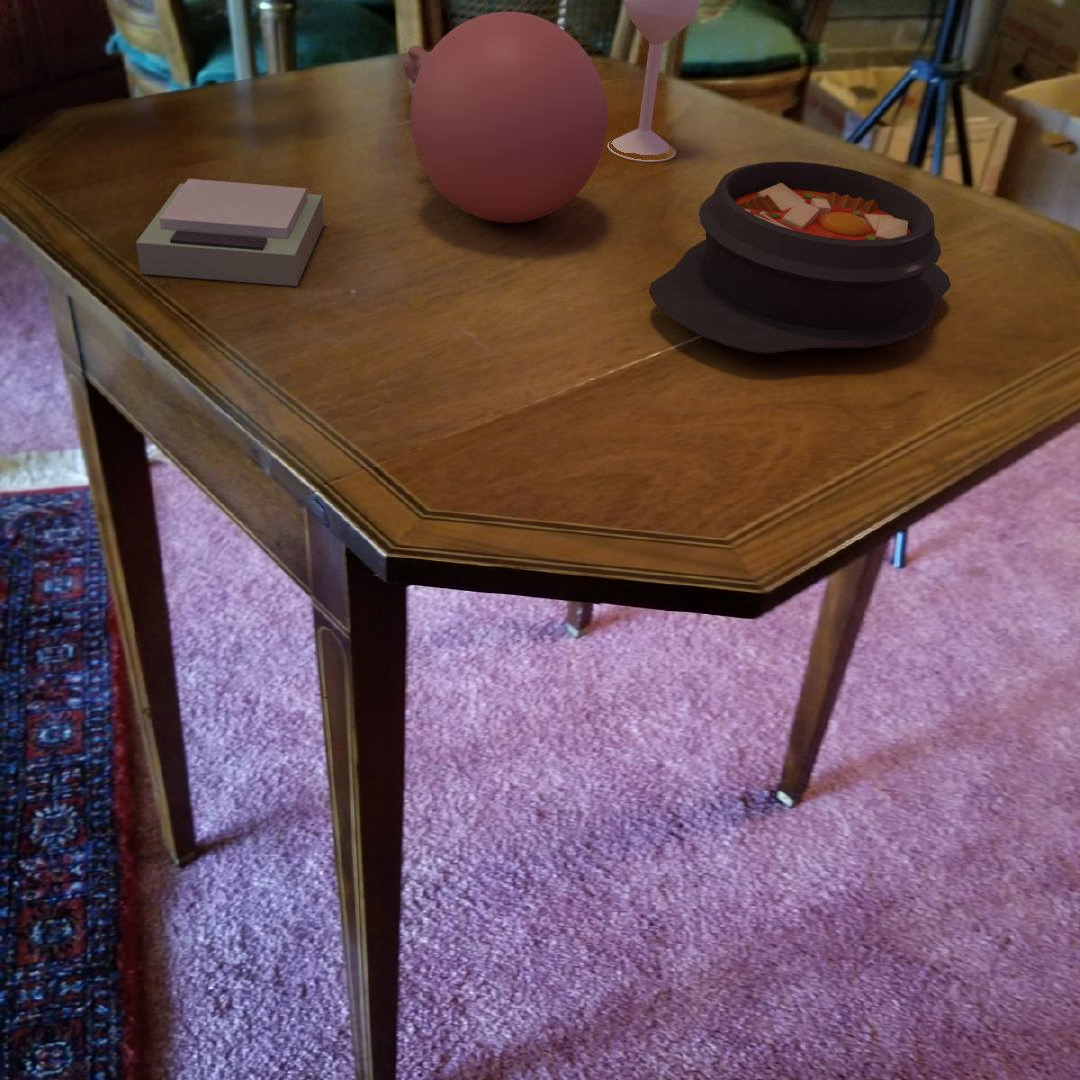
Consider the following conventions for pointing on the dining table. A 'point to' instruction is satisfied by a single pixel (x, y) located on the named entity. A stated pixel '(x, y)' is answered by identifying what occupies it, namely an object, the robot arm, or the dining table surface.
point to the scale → (233, 233)
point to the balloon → (507, 116)
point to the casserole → (807, 262)
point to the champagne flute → (653, 67)
